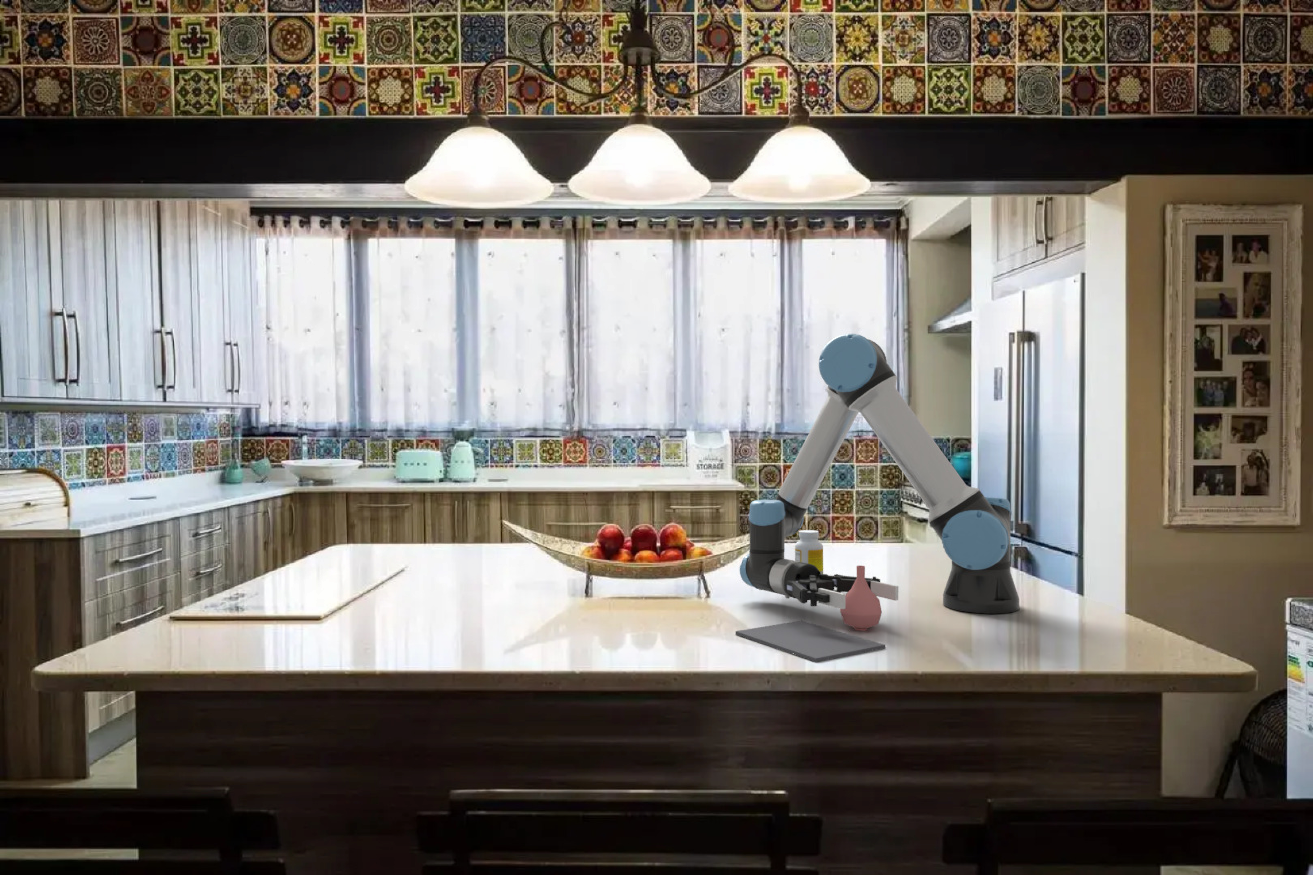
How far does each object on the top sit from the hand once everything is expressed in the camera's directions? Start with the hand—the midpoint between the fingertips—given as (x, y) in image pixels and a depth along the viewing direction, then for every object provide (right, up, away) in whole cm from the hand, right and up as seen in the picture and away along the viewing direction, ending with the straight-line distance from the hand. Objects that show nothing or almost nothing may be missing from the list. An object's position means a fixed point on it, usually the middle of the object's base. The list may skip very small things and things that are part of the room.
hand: (871, 597), depth 167 cm
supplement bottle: (-4, -6, +47) cm, 47 cm away
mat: (-13, -7, -6) cm, 16 cm away
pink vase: (-1, -7, +3) cm, 7 cm away
